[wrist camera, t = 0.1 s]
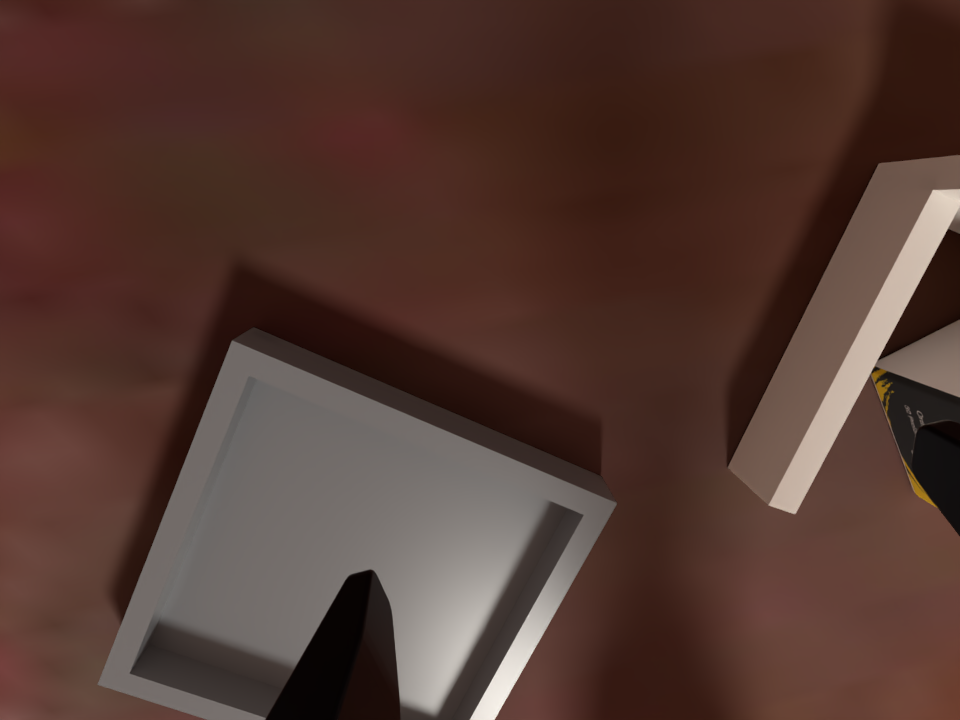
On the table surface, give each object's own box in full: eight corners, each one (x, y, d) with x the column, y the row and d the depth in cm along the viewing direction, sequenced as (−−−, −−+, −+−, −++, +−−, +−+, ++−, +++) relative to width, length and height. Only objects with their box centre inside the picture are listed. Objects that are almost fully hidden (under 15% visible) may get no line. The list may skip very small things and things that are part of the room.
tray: (449, 749, 30) (450, 797, 27) (128, 642, 27) (97, 684, 25) (601, 476, 26) (617, 503, 24) (253, 327, 24) (232, 340, 22)
